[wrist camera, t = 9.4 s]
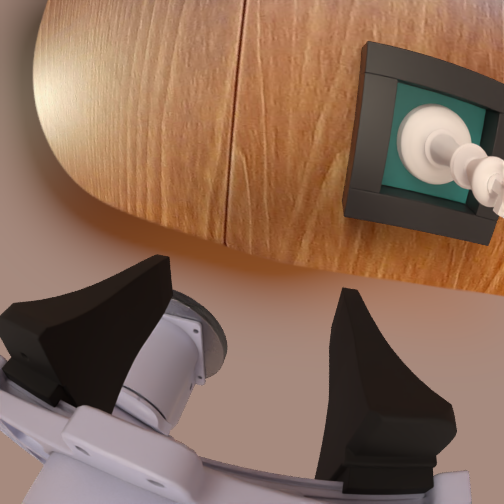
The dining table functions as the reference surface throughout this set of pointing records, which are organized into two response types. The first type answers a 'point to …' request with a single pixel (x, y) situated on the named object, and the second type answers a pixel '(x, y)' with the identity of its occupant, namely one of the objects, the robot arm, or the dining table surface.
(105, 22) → the dining table surface
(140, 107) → the dining table surface
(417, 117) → the chess piece
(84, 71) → the dining table surface
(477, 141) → the tray
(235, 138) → the dining table surface
